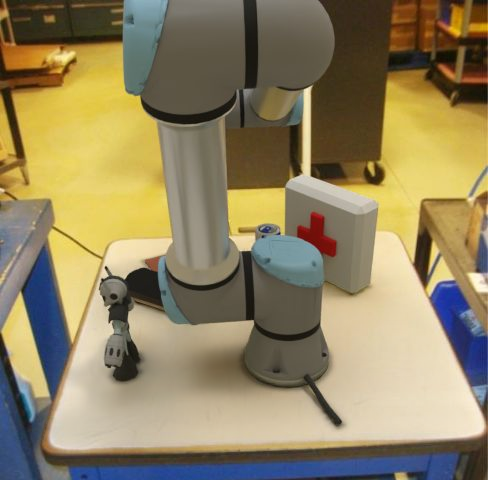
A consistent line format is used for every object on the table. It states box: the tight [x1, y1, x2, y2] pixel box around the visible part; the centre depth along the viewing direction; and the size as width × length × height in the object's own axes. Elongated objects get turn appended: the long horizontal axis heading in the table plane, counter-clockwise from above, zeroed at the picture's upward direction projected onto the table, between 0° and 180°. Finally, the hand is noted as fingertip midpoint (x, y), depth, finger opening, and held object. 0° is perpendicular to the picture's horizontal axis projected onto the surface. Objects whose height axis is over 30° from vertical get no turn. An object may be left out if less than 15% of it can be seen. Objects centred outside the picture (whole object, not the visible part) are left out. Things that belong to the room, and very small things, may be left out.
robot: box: [98, 265, 141, 382], centre depth 106 cm, size 20×5×20 cm, turn 2°
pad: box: [144, 254, 166, 272], centre depth 144 cm, size 8×20×1 cm, turn 116°
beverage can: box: [254, 222, 282, 242], centre depth 127 cm, size 5×5×15 cm
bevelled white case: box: [284, 173, 379, 295], centre depth 130 cm, size 21×8×20 cm, turn 42°
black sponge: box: [124, 266, 165, 312], centre depth 129 cm, size 16×8×4 cm, turn 59°
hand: (207, 248), depth 135 cm, fingers closed
